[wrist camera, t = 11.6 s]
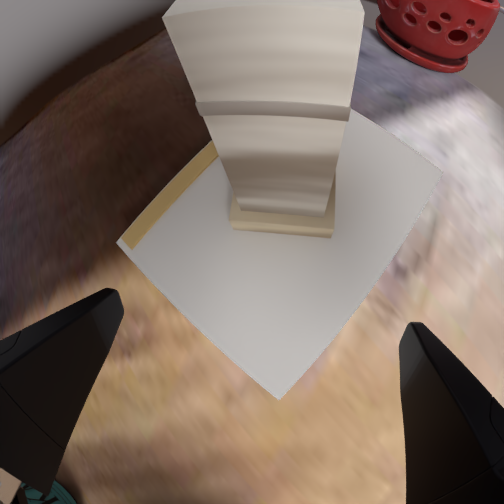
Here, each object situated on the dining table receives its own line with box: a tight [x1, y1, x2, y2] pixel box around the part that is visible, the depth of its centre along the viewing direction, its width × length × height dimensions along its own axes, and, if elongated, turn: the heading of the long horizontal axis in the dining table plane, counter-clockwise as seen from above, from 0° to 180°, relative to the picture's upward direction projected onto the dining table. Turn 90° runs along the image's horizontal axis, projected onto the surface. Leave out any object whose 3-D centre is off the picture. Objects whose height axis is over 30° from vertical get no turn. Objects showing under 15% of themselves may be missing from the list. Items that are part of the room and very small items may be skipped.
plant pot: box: [376, 0, 500, 73], centre depth 17 cm, size 13×13×12 cm
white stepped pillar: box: [162, 0, 365, 238], centre depth 11 cm, size 6×6×13 cm
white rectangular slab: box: [116, 109, 443, 400], centre depth 18 cm, size 18×14×2 cm
